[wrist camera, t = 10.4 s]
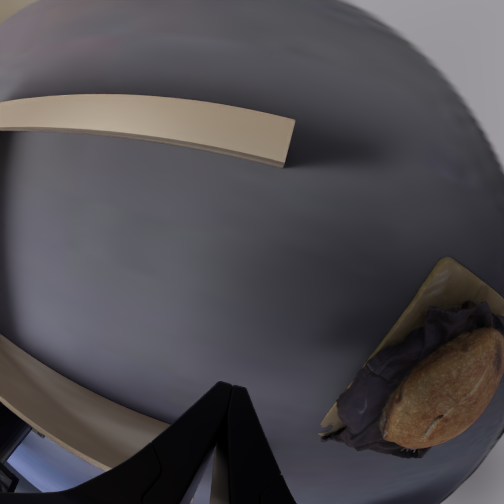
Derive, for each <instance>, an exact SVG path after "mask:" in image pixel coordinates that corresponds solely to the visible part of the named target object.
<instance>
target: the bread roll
mask: <svg viewBox="0 0 504 504" xmlns="http://www.w3.org/2000/svg"><path fill="white" fill-rule="evenodd" d="M503 372H504V298H503V297H502V296H500V295H499V294H498V293H497V292H496V291H495V290H493V289H492V288H491V287H489V286H488V285H487V284H486V283H485V282H483V281H482V280H481V279H479V278H478V277H477V276H475V275H474V274H473V273H471V272H470V271H469V270H468V269H466V268H465V267H464V266H462V265H461V264H459V263H458V262H457V261H455V260H454V259H453V258H451V257H443V258H441V259H440V260H439V261H438V263H437V264H436V265H435V267H434V268H433V270H432V271H431V273H430V274H429V276H428V277H427V279H426V280H425V281H424V283H423V284H422V285H421V287H420V289H419V290H418V292H417V294H416V295H415V297H414V298H413V300H412V301H411V302H410V304H409V305H408V307H407V308H406V309H405V310H404V312H403V314H402V315H401V317H400V318H399V319H398V321H397V322H396V323H395V324H394V326H393V327H392V329H391V330H390V331H389V332H388V334H387V336H386V337H385V338H384V339H383V340H382V342H381V343H380V345H379V346H378V347H377V349H376V350H375V351H374V352H373V354H372V355H371V356H370V357H369V358H368V360H367V361H366V362H365V364H364V365H363V367H362V369H361V370H360V371H359V372H358V373H357V375H356V377H355V378H354V379H353V381H352V382H351V383H350V384H349V386H348V387H347V388H346V390H345V391H344V392H343V393H342V394H341V395H340V396H339V399H338V400H336V403H335V404H334V406H333V407H332V408H331V409H330V411H329V412H328V414H327V415H326V417H325V418H324V420H323V421H322V422H321V426H323V427H324V428H325V427H328V426H329V424H330V425H332V426H333V427H332V429H331V430H329V431H328V432H323V433H319V434H318V435H321V436H323V437H322V438H321V439H320V440H321V442H326V441H327V440H329V439H331V440H334V441H337V442H345V444H346V445H348V446H349V447H355V449H356V450H357V451H361V450H367V449H370V450H373V451H376V452H380V453H385V454H392V455H395V456H399V457H402V458H407V459H408V458H411V457H413V458H422V457H423V456H424V455H425V454H426V453H427V452H428V451H429V449H430V448H431V447H432V446H434V445H438V444H442V443H444V442H446V441H448V440H450V439H452V438H454V437H456V436H457V435H459V434H461V433H462V432H463V431H465V430H466V429H467V428H468V427H470V426H471V425H472V424H473V423H474V422H475V421H476V420H477V419H478V418H479V417H480V416H481V414H482V413H483V411H484V410H485V408H486V407H487V405H488V404H489V402H490V401H491V399H492V397H493V395H494V394H495V392H496V389H497V387H498V385H499V383H500V380H501V377H502V375H503ZM346 425H347V427H346V428H344V427H345V426H346ZM403 448H404V449H405V450H403V451H401V450H402V449H403ZM408 448H414V449H416V448H417V449H416V451H415V452H414V453H413V451H414V450H410V449H409V450H408V451H407V450H406V449H408ZM406 451H407V452H406Z"/></svg>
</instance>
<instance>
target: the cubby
mask: <svg viewBox="0 0 504 504" xmlns="http://www.w3.org/2000/svg"><path fill="white" fill-rule="evenodd" d="M294 124H295V120H293V119H290V118H286V117H281V116H277V115H273V114H269V113H264V112H260V111H255V110H250V109H245V108H240V107H234V106H229V105H223V104H216V103H210V102H203V101H196V100H188V99H179V98H169V97H158V96H144V95H123V94H78V95H58V96H45V97H35V98H26V99H18V100H11V101H5V102H0V131H46V132H65V133H80V134H92V135H102V136H112V137H121V138H129V139H137V140H144V141H151V142H158V143H164V144H170V145H176V146H182V147H188V148H193V149H199V150H204V151H209V152H214V153H219V154H224V155H228V156H233V157H238V158H242V159H246V160H251V161H255V162H259V163H263V164H267V165H271V166H275V167H279V168H283V166H284V163H285V160H286V156H287V152H288V148H289V144H290V140H291V136H292V132H293V128H294ZM0 401H1V402H2V403H3V404H4V405H5V406H6V407H8V408H9V409H10V410H11V411H12V412H14V413H15V414H16V415H17V416H19V417H20V418H21V419H22V420H24V421H25V422H26V423H28V424H29V425H30V426H32V427H33V428H35V429H36V430H37V431H39V432H40V433H42V434H43V435H44V436H46V437H47V438H49V439H50V440H52V441H53V442H55V443H57V444H58V445H60V446H61V447H63V448H65V449H66V450H68V451H70V452H71V453H73V454H75V455H76V456H78V457H80V458H82V459H83V460H85V461H87V462H89V463H91V464H93V465H95V466H97V467H99V468H101V469H103V470H105V471H108V470H110V469H112V468H114V467H116V466H117V465H119V464H121V463H122V462H124V461H125V460H127V459H129V458H130V457H131V456H133V455H134V454H136V453H137V452H138V451H140V450H141V449H142V448H143V447H145V446H146V445H147V444H148V443H150V442H151V441H152V440H153V439H154V438H156V437H157V436H158V435H159V434H160V433H162V432H163V431H164V430H165V429H166V428H167V427H169V426H170V424H167V423H164V422H161V421H159V420H156V419H153V418H151V417H148V416H145V415H143V414H140V413H138V412H135V411H133V410H131V409H128V408H126V407H124V406H121V405H119V404H117V403H115V402H112V401H110V400H108V399H106V398H104V397H102V396H100V395H98V394H96V393H94V392H92V391H90V390H88V389H86V388H84V387H82V386H80V385H78V384H76V383H75V382H73V381H71V380H69V379H67V378H66V377H64V376H62V375H60V374H59V373H57V372H55V371H54V370H52V369H50V368H49V367H47V366H46V365H44V364H43V363H41V362H39V361H38V360H36V359H35V358H33V357H32V356H30V355H29V354H27V353H26V352H25V351H23V350H22V349H20V348H19V347H17V346H16V345H15V344H13V343H12V342H11V341H9V340H8V339H7V338H5V337H4V336H3V335H1V334H0ZM193 498H194V496H193ZM193 498H192V500H191V502H190V503H192V501H193Z"/></svg>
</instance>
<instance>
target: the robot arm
mask: <svg viewBox="0 0 504 504" xmlns="http://www.w3.org/2000/svg"><path fill="white" fill-rule="evenodd" d="M31 430H32V431H33V432H35V433H36V434H37V435H39V436H40V437H42V438H44V437H45V436H44V435H43V434H42V433H40V432H39V431H37V430H36V429H35V428H33V427H32V426H30V425H29V424H28V423H26V422H25V421H24V420H22V419H21V418H20V417H19V416H17V415H16V414H15V413H14V412H12V411H11V410H10V409H9V408H8V407H6V406H5V405H4V404H3V403H2V402H1V401H0V504H190V502H191V500H192V498H193V496H194V494H195V492H196V489H197V487H198V485H199V483H200V481H201V478H202V476H203V474H204V472H205V469H206V467H207V465H208V463H209V460H210V458H211V456H212V454H213V451H214V448H215V446H216V449H215V456H214V466H213V475H212V485H211V495H210V504H297V503H296V502H295V500H294V498H293V497H292V495H291V493H290V491H289V489H288V487H287V485H286V482H285V480H284V478H283V476H282V475H280V474H281V471H280V469H279V467H278V465H277V462H276V460H275V458H274V455H273V453H272V451H271V448H270V446H269V444H268V441H267V439H266V436H265V434H264V431H263V429H262V427H261V424H260V422H259V419H258V417H257V414H256V412H255V409H254V407H253V404H252V401H251V399H250V396H249V394H248V391H247V389H246V388H245V387H241V386H237V385H233V386H232V385H231V384H230V383H226V382H222V381H219V382H217V383H216V384H215V385H214V386H213V387H212V388H211V389H210V390H209V391H208V392H207V393H206V394H204V395H203V396H202V397H201V398H200V399H199V400H198V401H197V402H196V403H195V404H194V405H192V406H191V407H190V408H189V409H188V410H187V411H186V412H185V413H183V414H182V415H181V416H180V417H179V418H178V419H177V420H176V421H174V422H173V423H172V424H171V425H170V426H169V427H167V428H166V429H165V430H164V431H163V432H162V433H160V434H159V435H158V436H157V437H156V438H154V439H153V440H152V441H151V442H150V443H148V444H147V445H146V446H145V447H143V448H142V449H141V450H140V451H138V452H137V453H136V454H134V455H133V456H131V457H130V458H129V459H127V460H125V461H124V462H122V463H121V464H119V465H117V466H116V467H114V468H112V469H110V470H108V471H106V472H105V473H103V474H101V475H99V476H97V477H95V478H93V479H91V480H89V481H87V482H85V483H83V484H81V485H78V486H76V487H74V488H71V489H68V490H64V491H59V492H46V493H14V491H15V489H16V486H17V484H18V482H19V478H18V477H17V476H16V475H15V474H13V473H11V472H10V471H9V470H8V469H7V468H6V467H5V466H4V463H5V462H6V461H7V460H8V458H9V457H10V456H11V455H12V453H13V452H14V451H15V450H16V448H17V447H18V446H19V445H20V443H21V442H22V441H23V440H24V438H25V437H26V436H27V435H28V434H29V432H30V431H31ZM216 443H217V444H216Z"/></svg>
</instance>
